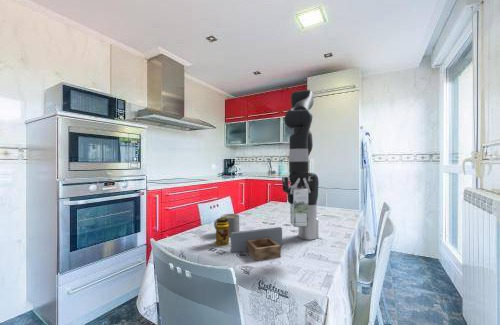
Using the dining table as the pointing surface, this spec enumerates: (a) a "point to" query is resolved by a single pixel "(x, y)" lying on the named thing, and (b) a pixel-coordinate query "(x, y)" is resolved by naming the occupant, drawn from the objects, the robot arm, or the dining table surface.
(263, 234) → the backstop wall
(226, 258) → the dining table surface
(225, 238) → the condiment
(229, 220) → the coffee mug
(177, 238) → the dining table surface
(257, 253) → the socket block
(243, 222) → the dining table surface
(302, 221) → the syrup box
